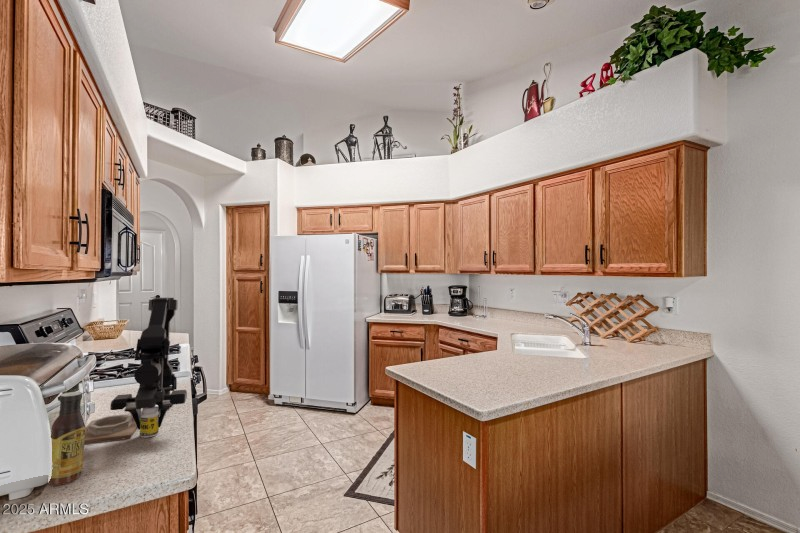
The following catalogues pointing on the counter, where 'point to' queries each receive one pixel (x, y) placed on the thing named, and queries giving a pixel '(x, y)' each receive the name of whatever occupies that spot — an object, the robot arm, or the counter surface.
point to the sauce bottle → (67, 440)
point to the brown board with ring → (110, 429)
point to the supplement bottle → (149, 422)
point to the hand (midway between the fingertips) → (149, 428)
